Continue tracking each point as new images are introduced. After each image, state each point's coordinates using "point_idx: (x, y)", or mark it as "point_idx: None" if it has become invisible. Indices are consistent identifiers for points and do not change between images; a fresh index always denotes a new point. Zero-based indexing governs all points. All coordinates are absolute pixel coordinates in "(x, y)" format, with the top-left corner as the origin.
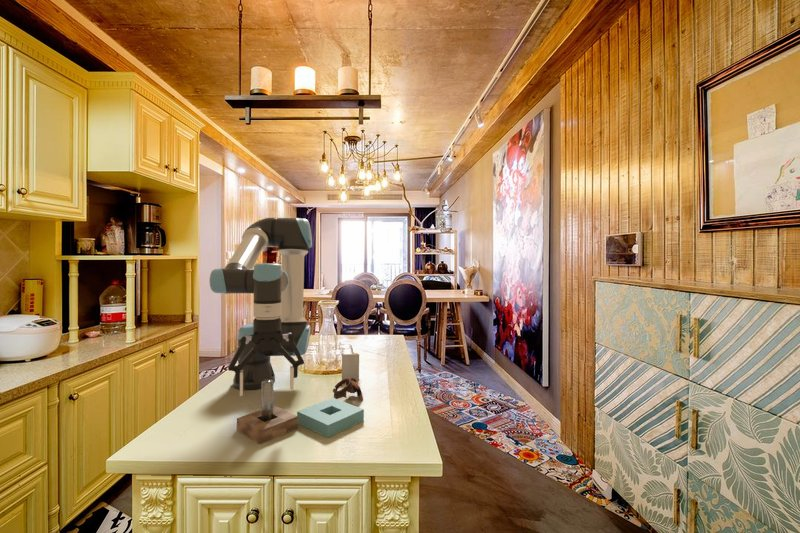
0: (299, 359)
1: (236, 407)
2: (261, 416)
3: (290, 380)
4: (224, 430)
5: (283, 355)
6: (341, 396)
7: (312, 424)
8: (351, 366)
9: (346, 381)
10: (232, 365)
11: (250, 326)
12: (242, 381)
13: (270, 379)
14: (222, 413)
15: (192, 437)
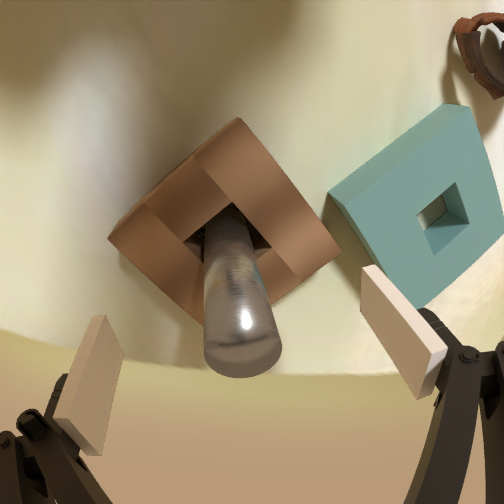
0: (488, 414)
1: (70, 17)
2: (200, 226)
3: (381, 312)
4: (80, 216)
5: (407, 495)
6: (486, 88)
7: (375, 261)
8: None
9: None
10: (41, 489)
11: None
12: (108, 411)
13: (260, 327)
14: (33, 74)
15: (17, 251)
